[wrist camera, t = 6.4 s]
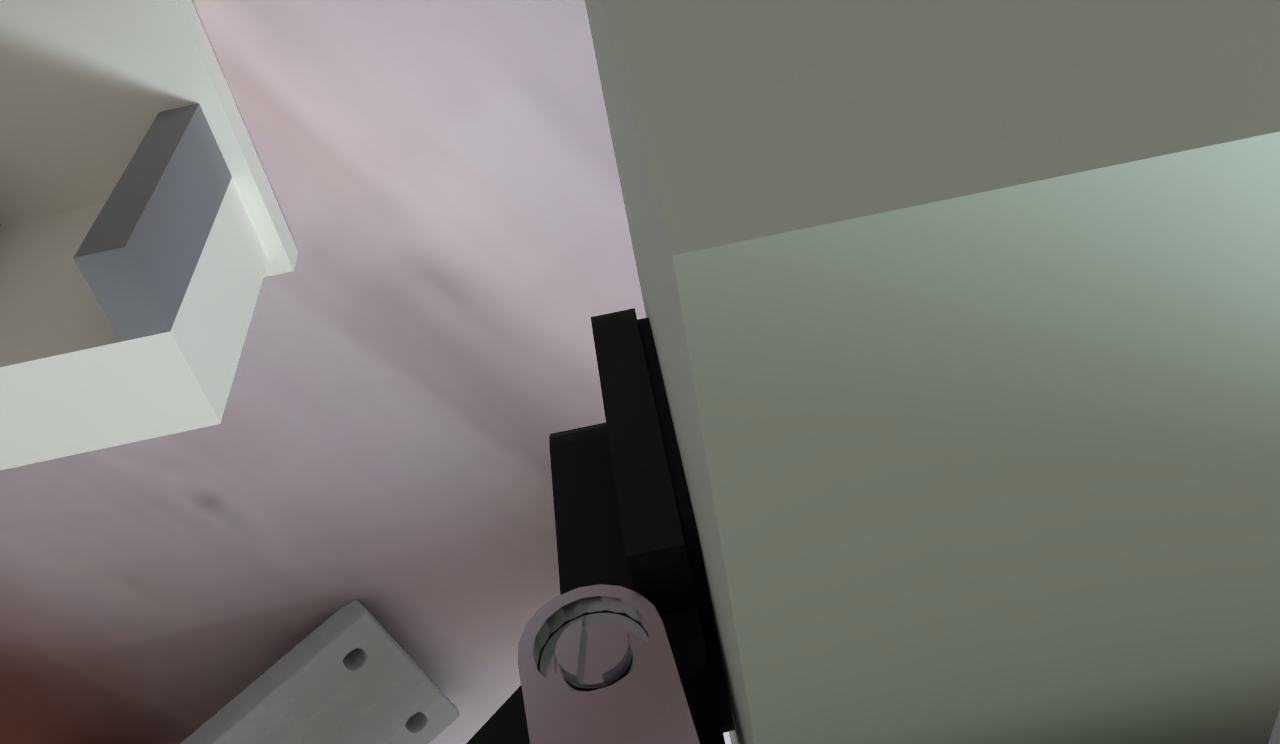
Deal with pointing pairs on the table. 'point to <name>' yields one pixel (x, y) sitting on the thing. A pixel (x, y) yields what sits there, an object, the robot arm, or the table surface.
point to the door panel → (968, 356)
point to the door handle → (336, 693)
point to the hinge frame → (122, 227)
